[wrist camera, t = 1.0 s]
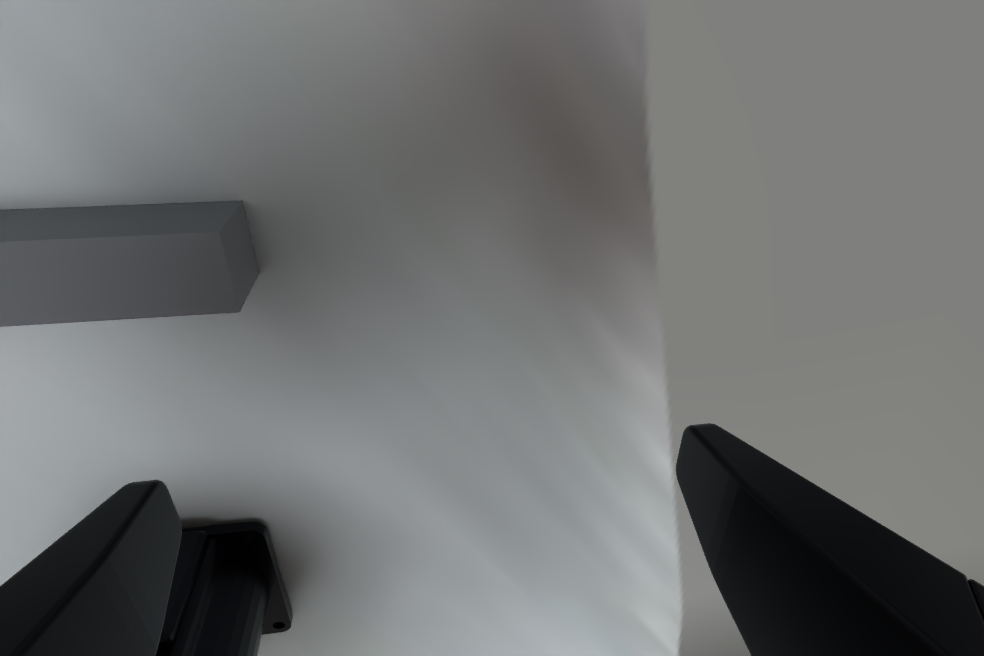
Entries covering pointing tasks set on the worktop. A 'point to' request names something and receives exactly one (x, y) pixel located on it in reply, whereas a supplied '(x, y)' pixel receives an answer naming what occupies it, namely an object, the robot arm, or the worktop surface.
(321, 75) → the worktop surface
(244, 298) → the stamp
